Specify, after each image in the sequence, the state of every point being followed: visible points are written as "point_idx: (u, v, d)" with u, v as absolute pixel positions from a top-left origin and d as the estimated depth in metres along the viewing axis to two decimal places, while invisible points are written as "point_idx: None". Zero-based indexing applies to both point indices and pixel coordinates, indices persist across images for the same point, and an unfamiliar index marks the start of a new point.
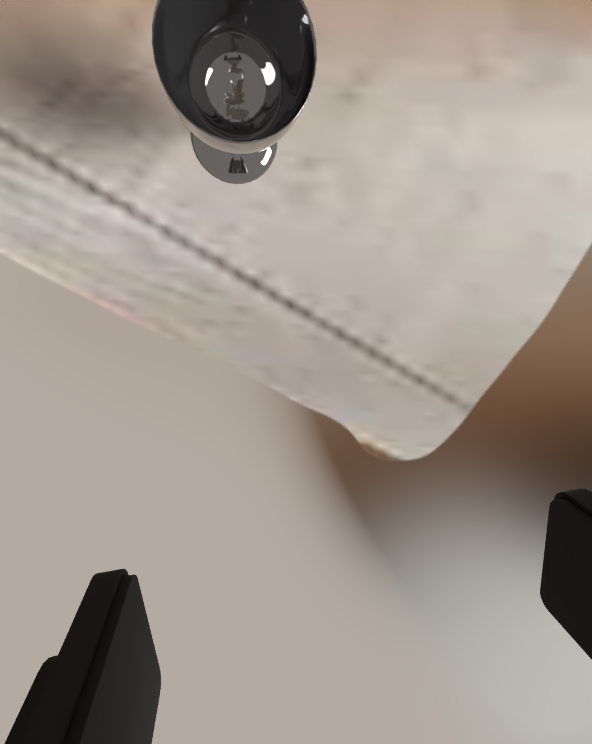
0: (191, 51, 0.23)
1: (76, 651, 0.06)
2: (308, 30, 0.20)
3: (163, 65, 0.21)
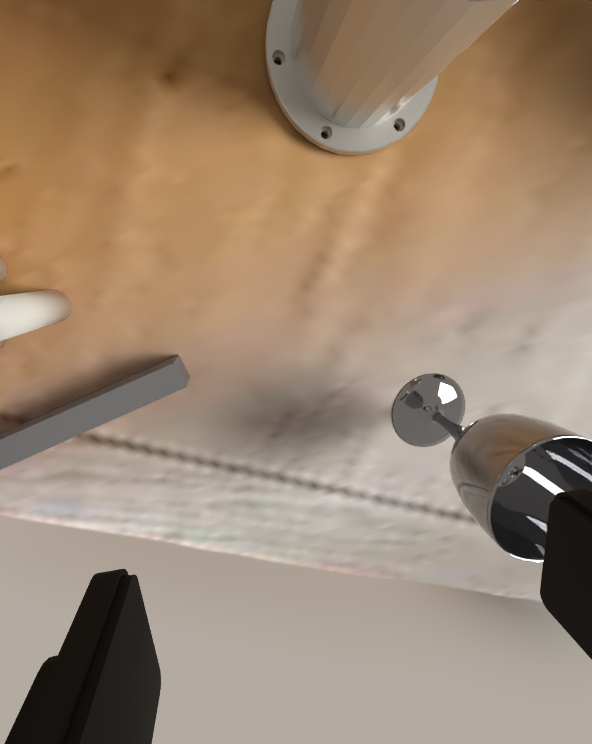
0: None
1: (76, 651, 0.06)
2: None
3: (466, 494, 0.25)
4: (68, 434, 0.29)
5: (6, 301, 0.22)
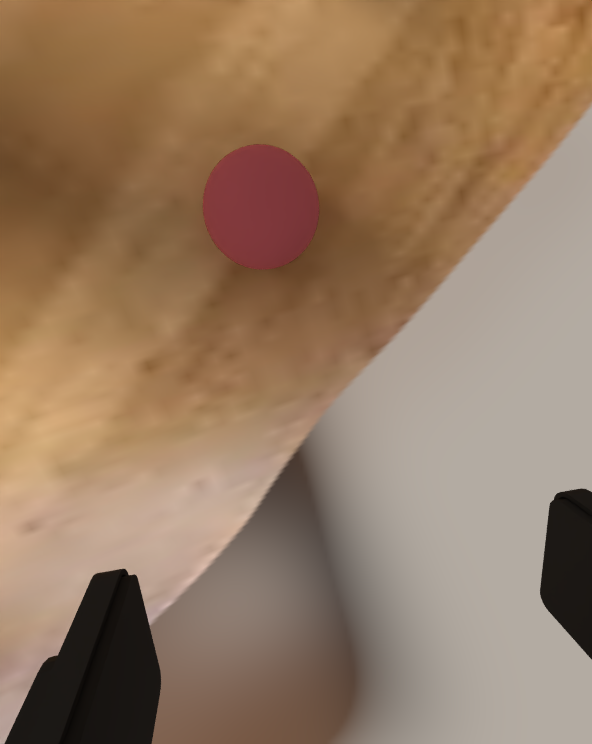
0: None
1: (76, 651, 0.06)
2: None
3: None
4: None
5: None
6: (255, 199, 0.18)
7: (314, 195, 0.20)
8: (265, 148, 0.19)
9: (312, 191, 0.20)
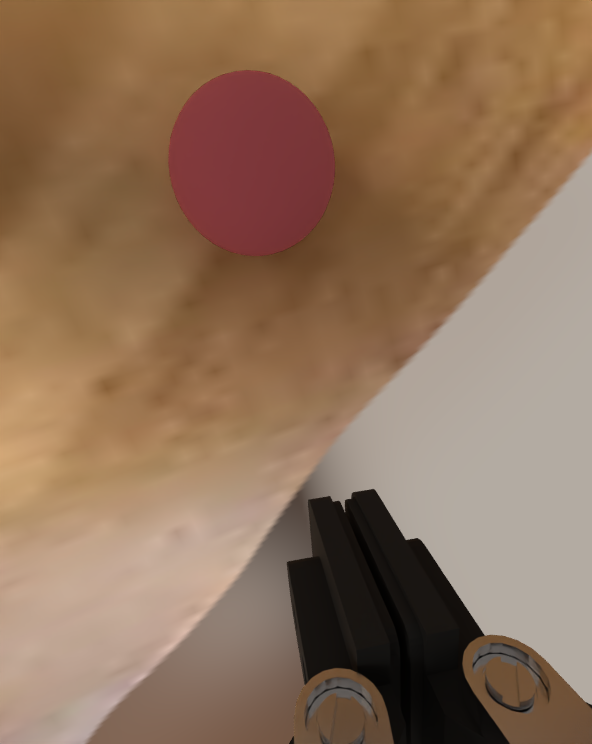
0: None
1: (337, 545, 0.08)
2: None
3: None
4: None
5: None
6: (244, 147, 0.12)
7: (329, 146, 0.14)
8: (257, 73, 0.13)
9: (326, 140, 0.13)
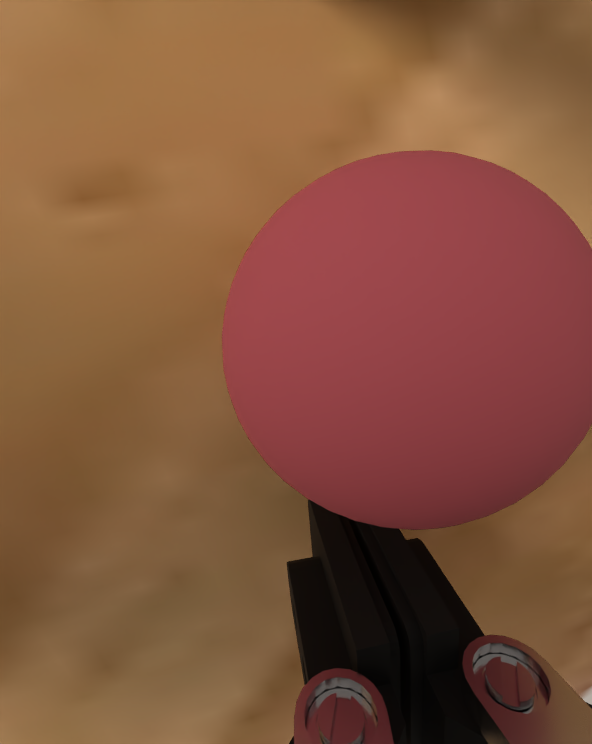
0: None
1: (337, 545, 0.08)
2: None
3: None
4: None
5: None
6: None
7: None
8: None
9: None
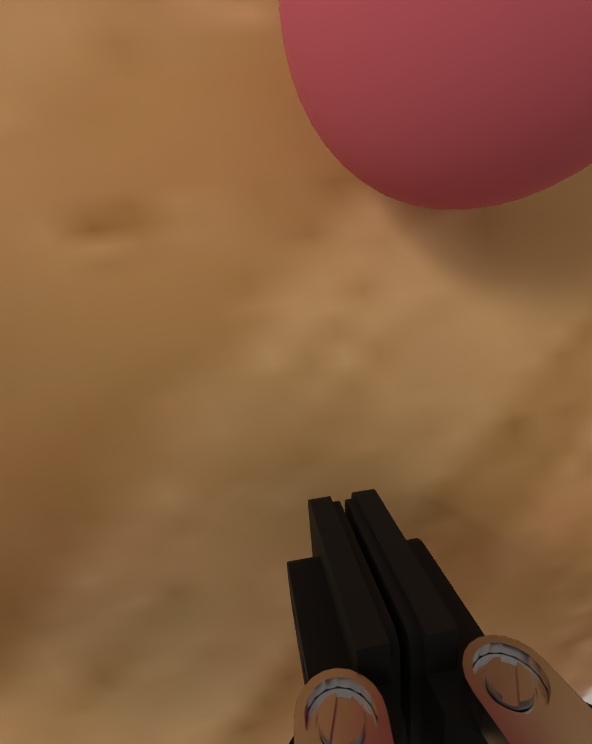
0: None
1: (337, 545, 0.08)
2: None
3: None
4: None
5: None
6: None
7: None
8: (575, 151, 0.05)
9: None
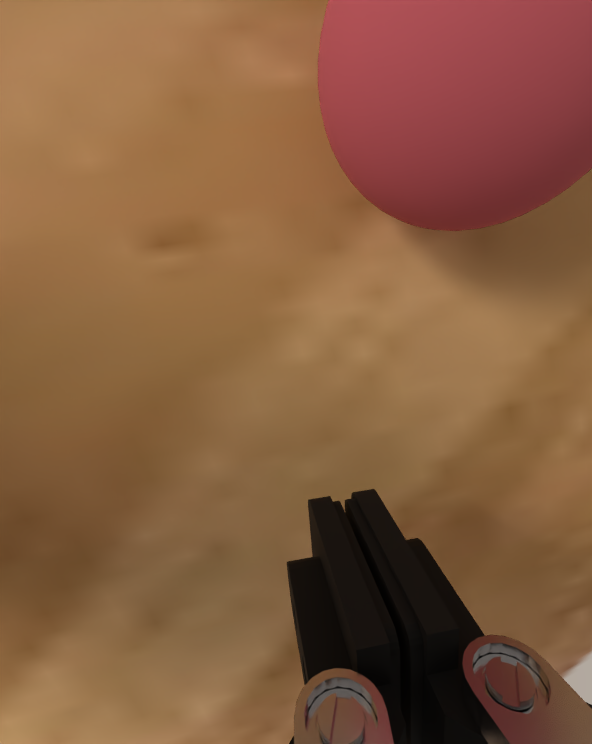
0: None
1: (337, 545, 0.08)
2: None
3: None
4: None
5: None
6: (405, 221, 0.09)
7: None
8: (535, 192, 0.07)
9: None
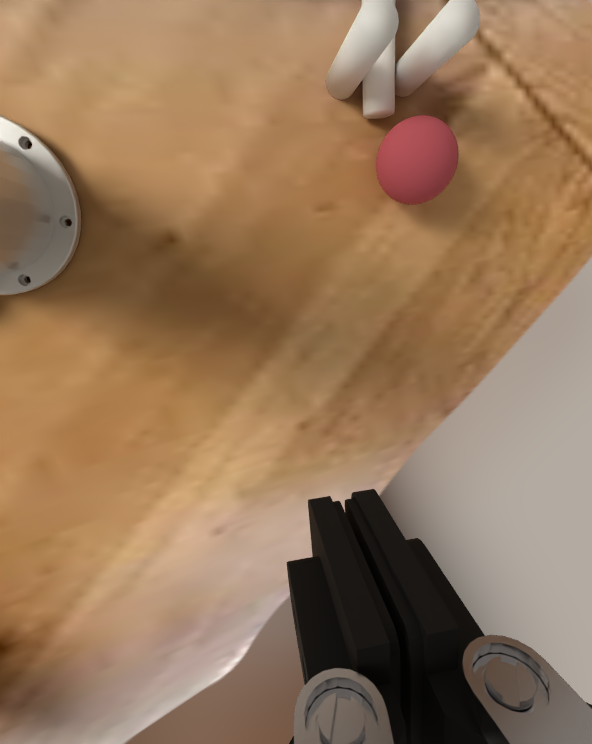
0: None
1: (337, 545, 0.08)
2: None
3: None
4: None
5: (357, 40, 0.24)
6: (399, 201, 0.32)
7: None
8: (430, 193, 0.30)
9: None
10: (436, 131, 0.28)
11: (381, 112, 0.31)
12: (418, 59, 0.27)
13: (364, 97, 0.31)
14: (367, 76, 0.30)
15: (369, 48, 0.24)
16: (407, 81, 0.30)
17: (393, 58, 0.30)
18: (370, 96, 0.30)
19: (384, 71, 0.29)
